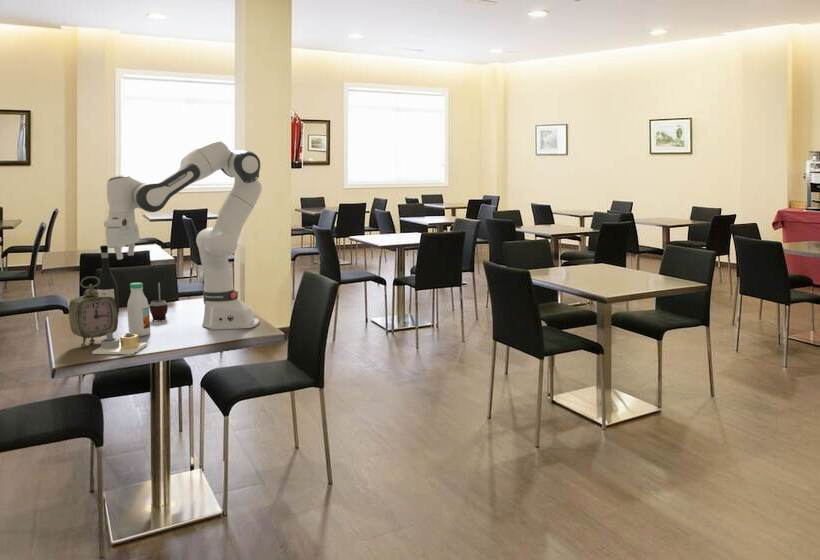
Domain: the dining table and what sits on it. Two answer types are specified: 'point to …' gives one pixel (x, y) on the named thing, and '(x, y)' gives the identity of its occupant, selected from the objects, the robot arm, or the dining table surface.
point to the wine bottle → (107, 278)
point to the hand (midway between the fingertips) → (125, 257)
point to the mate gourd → (158, 308)
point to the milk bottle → (138, 311)
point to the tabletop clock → (92, 314)
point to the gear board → (119, 351)
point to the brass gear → (129, 342)
